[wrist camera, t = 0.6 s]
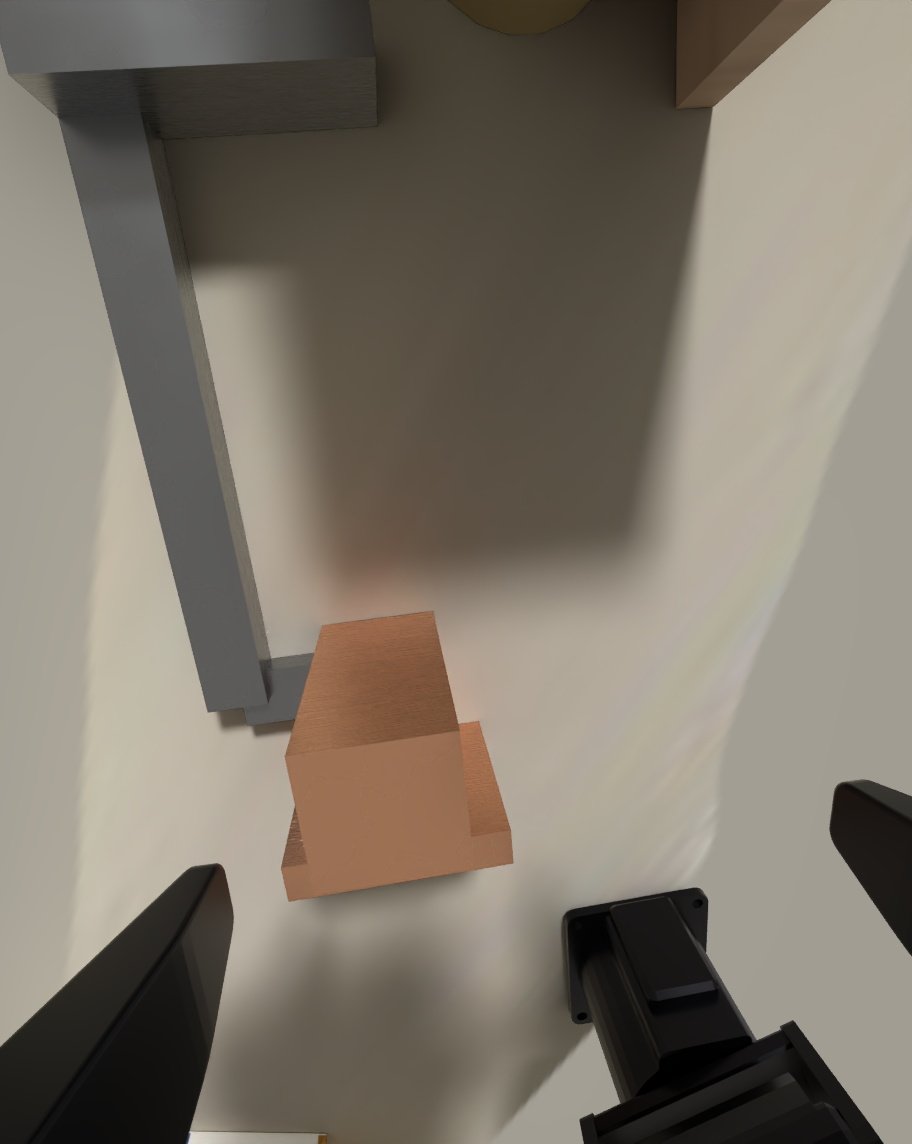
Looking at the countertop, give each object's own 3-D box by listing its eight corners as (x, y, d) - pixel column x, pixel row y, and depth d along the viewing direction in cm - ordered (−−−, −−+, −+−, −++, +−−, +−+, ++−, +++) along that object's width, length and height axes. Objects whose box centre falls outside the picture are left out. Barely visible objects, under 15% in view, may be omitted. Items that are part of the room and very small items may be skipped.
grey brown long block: (481, 747, 23) (529, 920, 15) (242, 784, 22) (166, 986, 14) (414, 39, 16) (439, -289, 8) (66, 55, 15) (-251, -290, 8)
